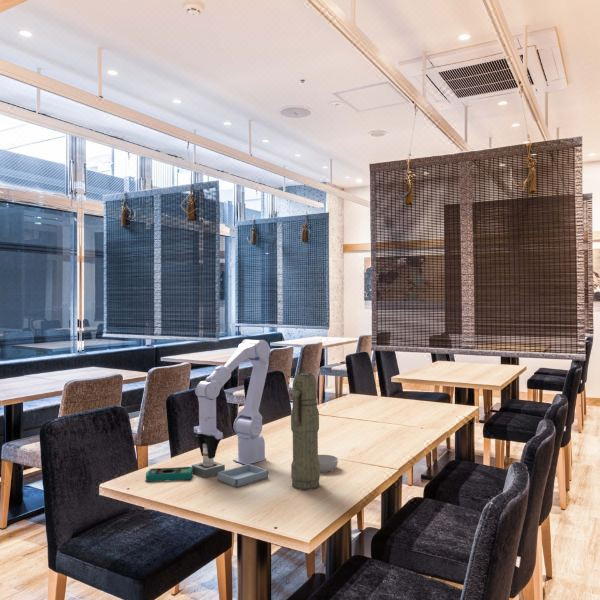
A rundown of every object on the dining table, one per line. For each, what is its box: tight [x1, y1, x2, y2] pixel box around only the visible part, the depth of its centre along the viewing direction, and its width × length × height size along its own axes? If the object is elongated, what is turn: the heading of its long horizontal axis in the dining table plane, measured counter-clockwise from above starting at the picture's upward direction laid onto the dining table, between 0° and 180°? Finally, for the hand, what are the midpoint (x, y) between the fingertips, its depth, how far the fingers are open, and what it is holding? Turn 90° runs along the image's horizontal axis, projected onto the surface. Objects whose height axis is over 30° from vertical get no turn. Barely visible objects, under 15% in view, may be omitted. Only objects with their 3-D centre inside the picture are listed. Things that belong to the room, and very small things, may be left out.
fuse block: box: [191, 460, 226, 479], centre depth 185 cm, size 8×8×3 cm
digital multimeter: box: [145, 466, 193, 483], centre depth 180 cm, size 7×15×3 cm, turn 96°
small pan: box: [318, 454, 339, 473], centre depth 190 cm, size 11×18×4 cm, turn 48°
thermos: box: [290, 372, 321, 491], centre depth 171 cm, size 9×12×35 cm
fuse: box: [202, 443, 215, 467], centre depth 185 cm, size 4×4×8 cm
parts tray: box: [216, 464, 269, 489], centre depth 177 cm, size 13×10×2 cm
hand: (208, 456), depth 185 cm, fingers closed on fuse, 3 cm apart
